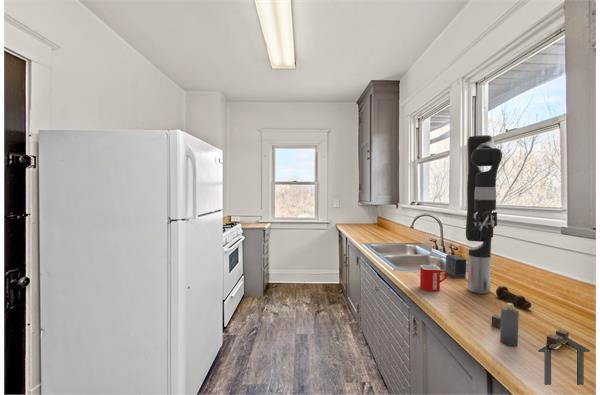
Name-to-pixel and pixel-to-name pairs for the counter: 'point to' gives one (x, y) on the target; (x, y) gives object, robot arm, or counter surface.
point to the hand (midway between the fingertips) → (484, 238)
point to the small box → (456, 266)
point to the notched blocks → (551, 338)
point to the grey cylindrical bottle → (509, 325)
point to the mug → (431, 277)
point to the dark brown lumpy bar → (512, 297)
